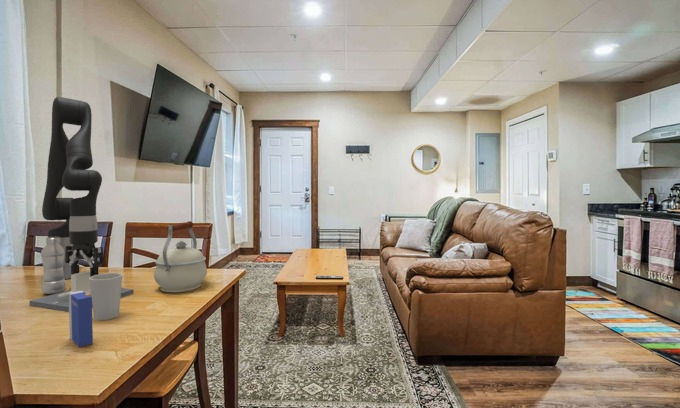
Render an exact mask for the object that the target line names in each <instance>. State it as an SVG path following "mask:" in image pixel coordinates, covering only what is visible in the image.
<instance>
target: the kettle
mask: <svg viewBox="0 0 680 408" xmlns="http://www.w3.org/2000/svg"><path fill="white" fill-rule="evenodd" d="M193 226H194V222H193V221H191V220H190V221H189V220H188V221H184V222H179V223H175V224H169V225H167V231H168V232H167V233H168V234H167V238H166V239H165V240H166V241H165V243H164V246H163V248H162V252H161V253H160V254H159V255H158V257H157V259H155V260H154V263H155V268H154V271H153V279H154V281H155V282H156V285H159V286H160V290H161V291H162V292H164V293H173V294H175V293H177V294H178V293H184V292H190V291H193V290H197V289H199V288H200V287H201V286H202V282H203V281H204V280H205V279H206V277H207V274H208V267H207V264H206V259H207V257H206V256H204V254H203V253H202V252H201V250H199V249H198V248H197V247H198V245H197V244H198V243H197V238H196V236H195V234H194V233H195V232H194V231H193ZM185 229H188V232H189V235H190V237H191V239H192V245H193V246H192V247H189V246H187V243H186V241H185V242H184V241H183V240H180V241H178V242H176V244H175V247H173V248H169V245H170V243H171V240H172V237H173V233H174V232H175V231H182V230H185ZM168 248H169V249H168Z"/></svg>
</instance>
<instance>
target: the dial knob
mask: <svg viewBox="0 0 680 408" xmlns="http://www.w3.org/2000/svg"><path fill="white" fill-rule="evenodd" d="M89 278H90V270H86V271H82V272H79V273H77V274H73V275H71V278H70V279H71V280H70V281H71V282H70V283H71V289H70V290H71V291H70V292H68V293H64V294H61V295H58V297H64V296H67V295H69V293H71V292H77V291H83V292H85V293H87V294H89V295H90V296H91V288H90V281H89Z"/></svg>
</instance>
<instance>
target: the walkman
mask: <svg viewBox="0 0 680 408" xmlns="http://www.w3.org/2000/svg"><path fill="white" fill-rule="evenodd" d="M68 317H69V319H68V320H69V321H68V322H69V325H68V326H69V339H70V340H71V341H72V342H73V343H74V344H75V345H76V346H77V347H78V348H82V347H86V346H89V345H91V344H93V343H94V338H93V337H94V335H93V334H94V333H93V332H94V330H93V307H92V297H91V296H90V295H89V294H87V293H85V292H83V291H77V292H71V293H69V312H68Z"/></svg>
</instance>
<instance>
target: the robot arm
mask: <svg viewBox="0 0 680 408" xmlns="http://www.w3.org/2000/svg"><path fill="white" fill-rule="evenodd" d="M92 116H93V115H92V108H91V105H90V103H88V102H86V101H83V100H77V99H75V98H74V99H73V98H69V97H68V98H67V97H62V96H56V97H54V99H53V101H52V109H51V133H50V134H51V136H50V137H51V138H50V143H49V144H50V145H49V151H48V160H47V171H46V173H47V175H46V186H45V189H44V190H45V191H44V197H43V201H42V207H41V209H42V210H41V211H42V213H41V214H42V217H43V219H44V220H46V221H65V222H63V224H61V225H59V226H57V227H54V228H51V229H49V230H48V231H47V237H59V241H60V242H59V244H60V245H61V246H62V248H63V249H64V251H65V254H64V260H63V274H64V279H65V280H67V279H71V275H73V274H77V273H80V262H81V261H82V260H83V261H85V262H86V263H88V265H89V271H90V277H92V276H94V275H99V274H100V272H99V268H100V266H103V265H104V264H105V259H104V247H102V246H98V247H96V245H95V244H96V243H97V242H98V236H99V235H98V219H97V218H98V217H97V200H98V195H99V192H100V190H101V189H100V188H101V186H102V184H103V183H102V182H103V176H102V174H101V173H100V172H99V171H98V170H95V169H90V168H92V166H93V163H94V161H93V154H92V146H91V144H92V143H91V140H92ZM64 124H66V125H73V126H77V127H78V126H80V128H79V129H78V131H76V133H75V134H73V135H72V136H71V138H70V139H69V138H68V136H67V134H66V132H65V130H64ZM64 188H65V190H68V191H71V192H75V191H76V192H77V191H78V192H86V191H87V192H88V193H87V195H84V196H82V197H76V198H73V197H58V195H59V194H60V191H62V189H64Z"/></svg>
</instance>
